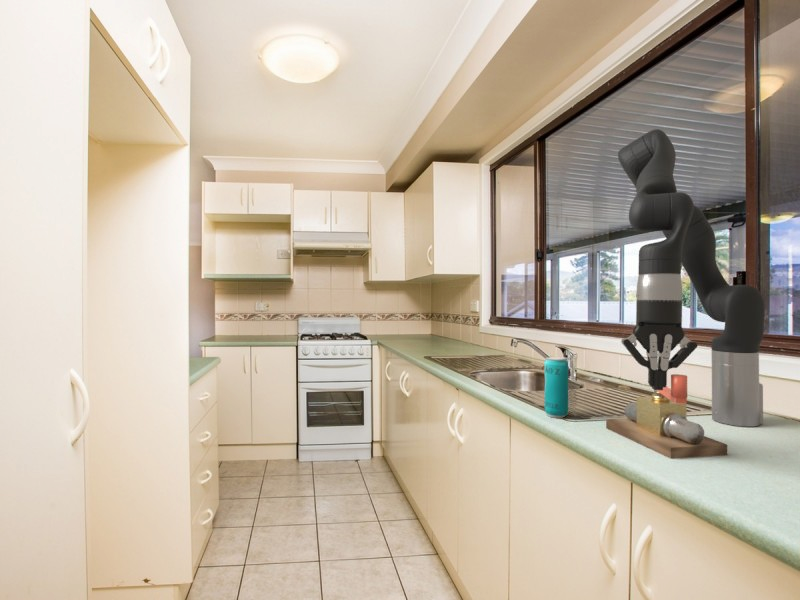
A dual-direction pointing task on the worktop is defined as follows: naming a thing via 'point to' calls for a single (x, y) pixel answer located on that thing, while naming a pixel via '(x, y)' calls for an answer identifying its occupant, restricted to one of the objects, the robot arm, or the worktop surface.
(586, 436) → the worktop surface
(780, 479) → the worktop surface
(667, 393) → the valve lever
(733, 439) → the worktop surface
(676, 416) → the valve board
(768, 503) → the worktop surface
